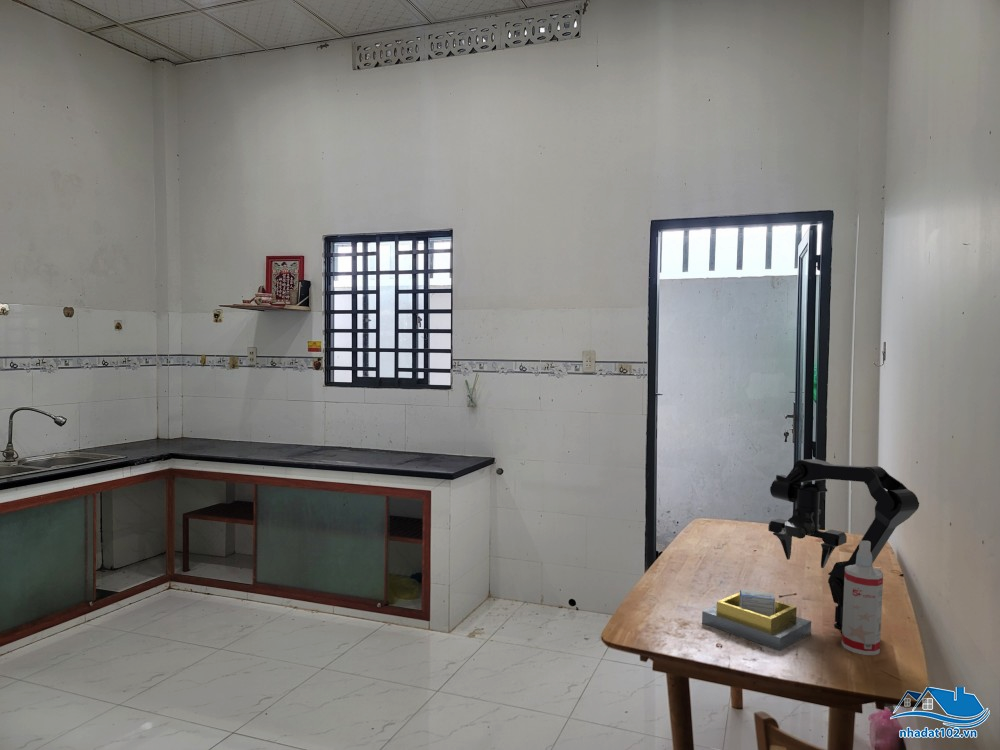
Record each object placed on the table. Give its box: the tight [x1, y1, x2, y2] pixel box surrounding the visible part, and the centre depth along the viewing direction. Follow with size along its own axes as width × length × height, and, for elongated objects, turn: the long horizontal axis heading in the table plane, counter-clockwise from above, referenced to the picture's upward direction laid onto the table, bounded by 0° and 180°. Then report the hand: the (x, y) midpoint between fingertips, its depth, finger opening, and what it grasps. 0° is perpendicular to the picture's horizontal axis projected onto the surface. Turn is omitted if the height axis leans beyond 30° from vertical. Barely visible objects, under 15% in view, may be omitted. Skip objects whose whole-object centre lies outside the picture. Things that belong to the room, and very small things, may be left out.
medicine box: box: [739, 589, 776, 617], centre depth 164 cm, size 8×4×9 cm, turn 75°
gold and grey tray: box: [701, 591, 812, 652], centre depth 164 cm, size 20×16×6 cm
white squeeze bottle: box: [841, 540, 884, 656], centre depth 154 cm, size 8×8×25 cm
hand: (805, 563), depth 179 cm, fingers open, 9 cm apart
